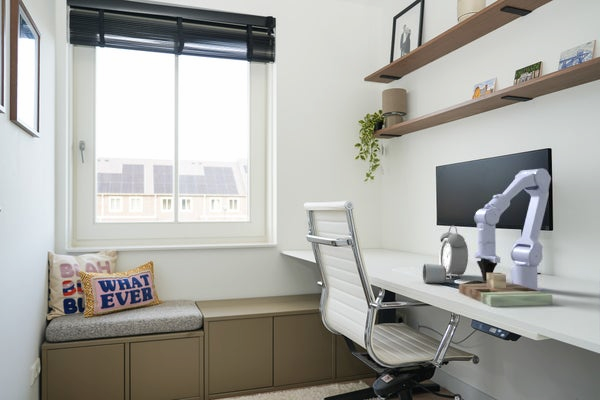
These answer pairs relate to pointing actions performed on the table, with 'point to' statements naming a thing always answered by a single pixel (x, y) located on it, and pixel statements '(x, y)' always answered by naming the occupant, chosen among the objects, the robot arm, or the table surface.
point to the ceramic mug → (434, 273)
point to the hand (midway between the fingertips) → (487, 281)
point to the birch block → (496, 280)
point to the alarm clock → (453, 253)
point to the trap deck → (505, 295)
